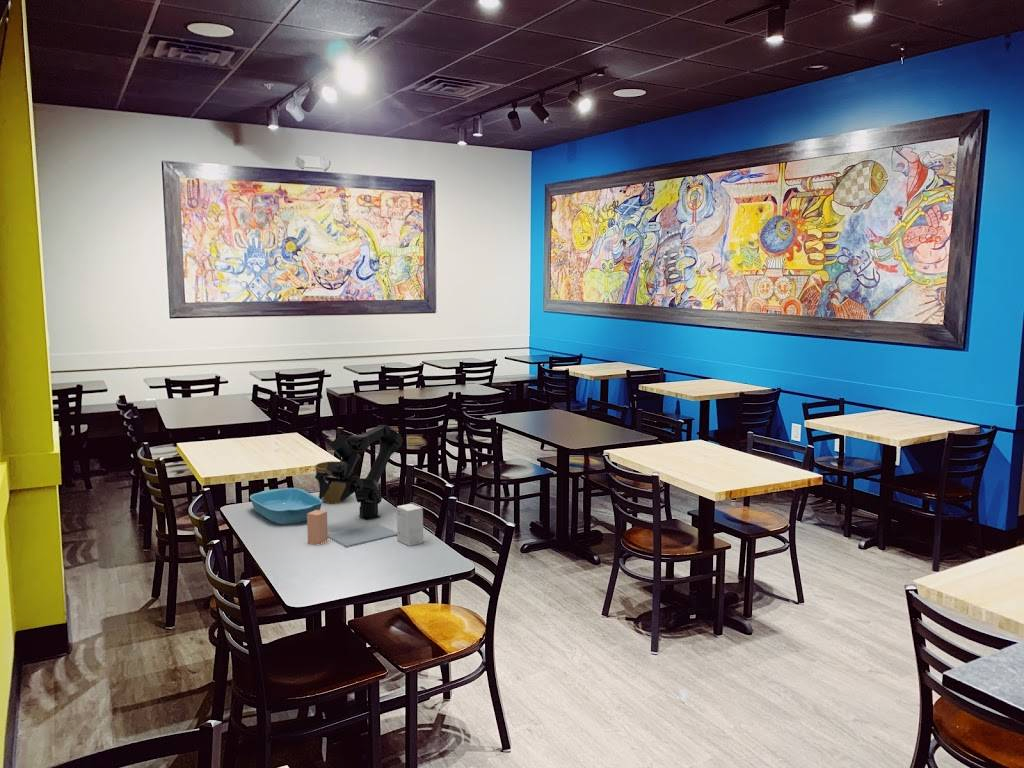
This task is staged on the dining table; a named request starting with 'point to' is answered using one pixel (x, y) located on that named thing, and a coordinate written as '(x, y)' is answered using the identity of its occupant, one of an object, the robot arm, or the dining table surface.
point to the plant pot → (331, 485)
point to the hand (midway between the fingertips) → (330, 499)
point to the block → (317, 527)
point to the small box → (410, 524)
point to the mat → (362, 535)
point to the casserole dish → (293, 508)
